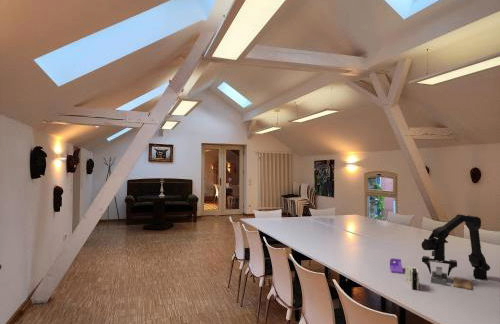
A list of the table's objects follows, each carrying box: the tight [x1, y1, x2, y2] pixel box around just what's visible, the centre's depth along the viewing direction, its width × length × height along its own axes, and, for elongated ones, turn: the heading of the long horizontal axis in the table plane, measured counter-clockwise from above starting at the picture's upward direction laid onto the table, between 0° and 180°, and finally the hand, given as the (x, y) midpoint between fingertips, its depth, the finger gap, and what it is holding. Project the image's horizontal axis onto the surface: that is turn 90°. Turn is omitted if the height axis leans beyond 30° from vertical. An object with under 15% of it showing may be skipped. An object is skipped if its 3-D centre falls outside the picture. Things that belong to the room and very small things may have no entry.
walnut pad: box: [452, 277, 473, 291], centre depth 193 cm, size 9×16×1 cm, turn 148°
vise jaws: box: [430, 270, 448, 286], centre depth 199 cm, size 8×16×3 cm, turn 148°
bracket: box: [389, 257, 404, 275], centre depth 218 cm, size 12×7×7 cm, turn 162°
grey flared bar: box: [435, 266, 443, 279], centre depth 199 cm, size 3×8×8 cm, turn 148°
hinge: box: [405, 265, 420, 291], centre depth 189 cm, size 14×5×10 cm, turn 168°
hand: (439, 275), depth 199 cm, fingers open, 9 cm apart
